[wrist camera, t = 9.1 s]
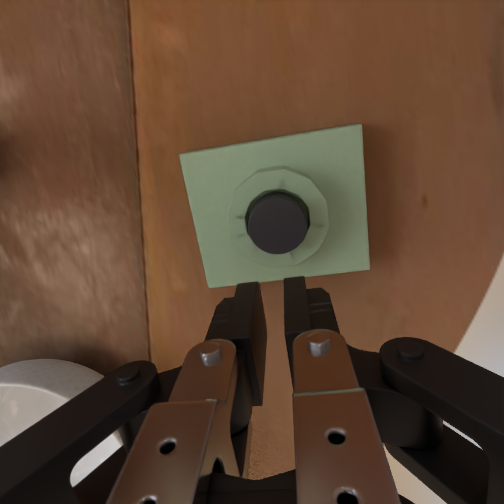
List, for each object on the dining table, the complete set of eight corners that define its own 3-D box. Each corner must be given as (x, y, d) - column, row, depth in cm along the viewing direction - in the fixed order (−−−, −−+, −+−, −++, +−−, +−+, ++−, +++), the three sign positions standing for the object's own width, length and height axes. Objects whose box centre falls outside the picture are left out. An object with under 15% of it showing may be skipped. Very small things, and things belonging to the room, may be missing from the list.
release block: (355, 123, 24) (368, 124, 21) (363, 258, 28) (376, 280, 24) (186, 151, 26) (170, 157, 22) (213, 276, 29) (203, 299, 25)
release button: (301, 188, 23) (303, 193, 21) (308, 241, 24) (310, 251, 22) (246, 196, 23) (243, 202, 21) (254, 248, 24) (252, 258, 23)
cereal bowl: (185, 459, 37) (164, 533, 30) (43, 476, 39) (-5, 548, 33) (126, 317, 31) (84, 370, 25) (-34, 348, 34) (-111, 404, 27)
